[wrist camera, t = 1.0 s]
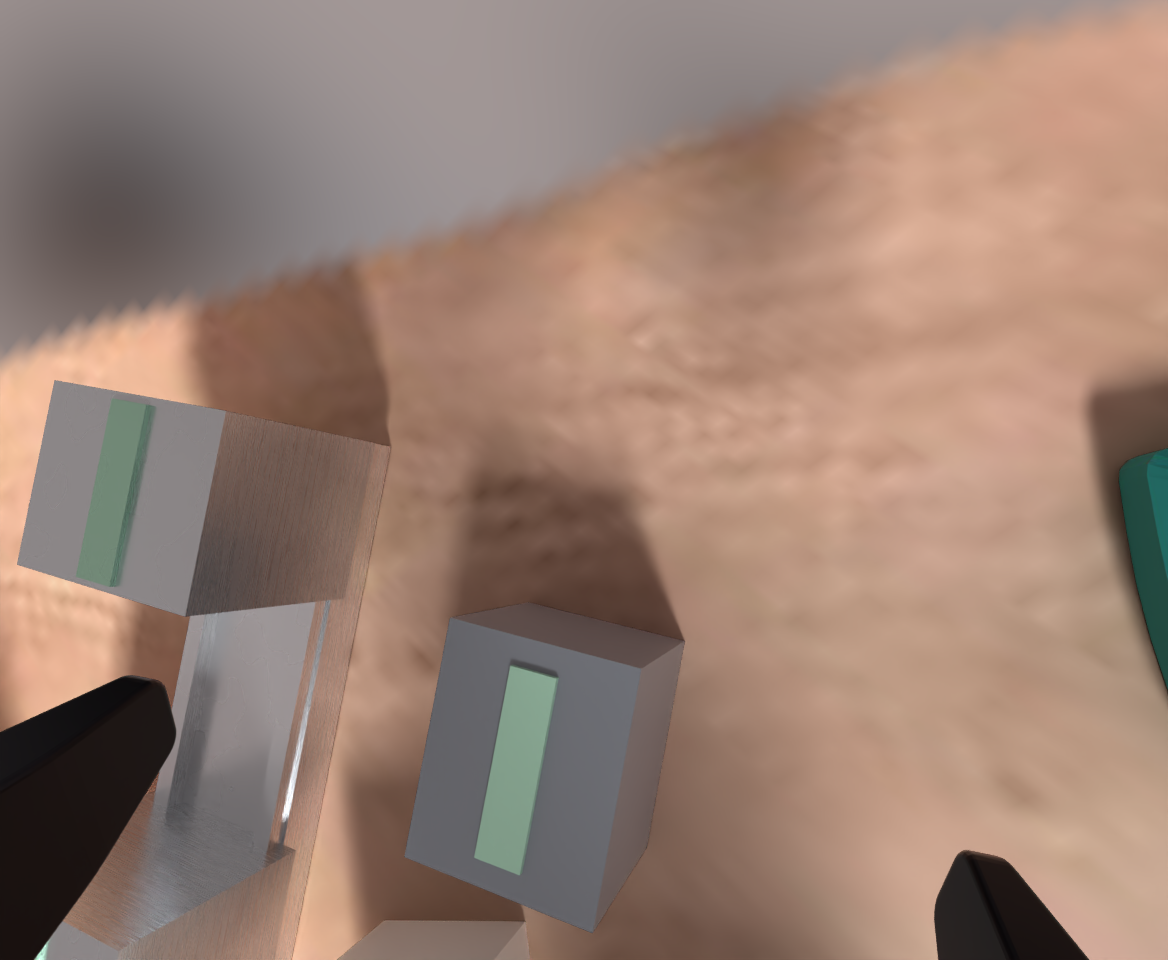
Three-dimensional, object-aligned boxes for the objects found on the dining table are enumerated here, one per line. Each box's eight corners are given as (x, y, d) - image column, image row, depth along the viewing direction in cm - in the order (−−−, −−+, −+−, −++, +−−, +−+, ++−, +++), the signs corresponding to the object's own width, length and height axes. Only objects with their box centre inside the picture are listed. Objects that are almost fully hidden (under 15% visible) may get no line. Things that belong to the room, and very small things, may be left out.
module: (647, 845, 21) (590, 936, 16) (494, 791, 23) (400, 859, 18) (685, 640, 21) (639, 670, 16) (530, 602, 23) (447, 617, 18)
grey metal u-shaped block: (300, 980, 24) (70, 1168, 17) (167, 914, 26) (-90, 1056, 19) (403, 449, 25) (221, 409, 17) (264, 423, 27) (49, 378, 19)
